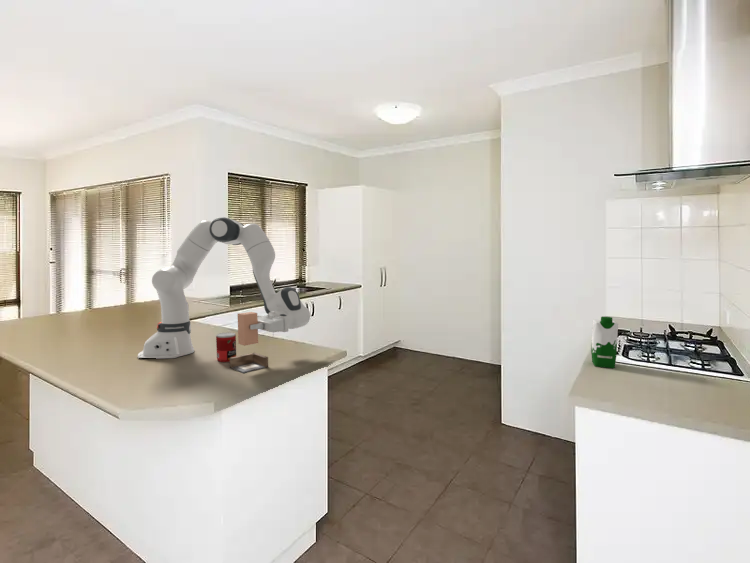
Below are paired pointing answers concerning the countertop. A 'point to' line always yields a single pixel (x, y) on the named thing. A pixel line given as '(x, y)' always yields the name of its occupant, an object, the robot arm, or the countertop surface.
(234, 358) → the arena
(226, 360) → the canned food
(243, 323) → the terracotta block
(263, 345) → the countertop surface
